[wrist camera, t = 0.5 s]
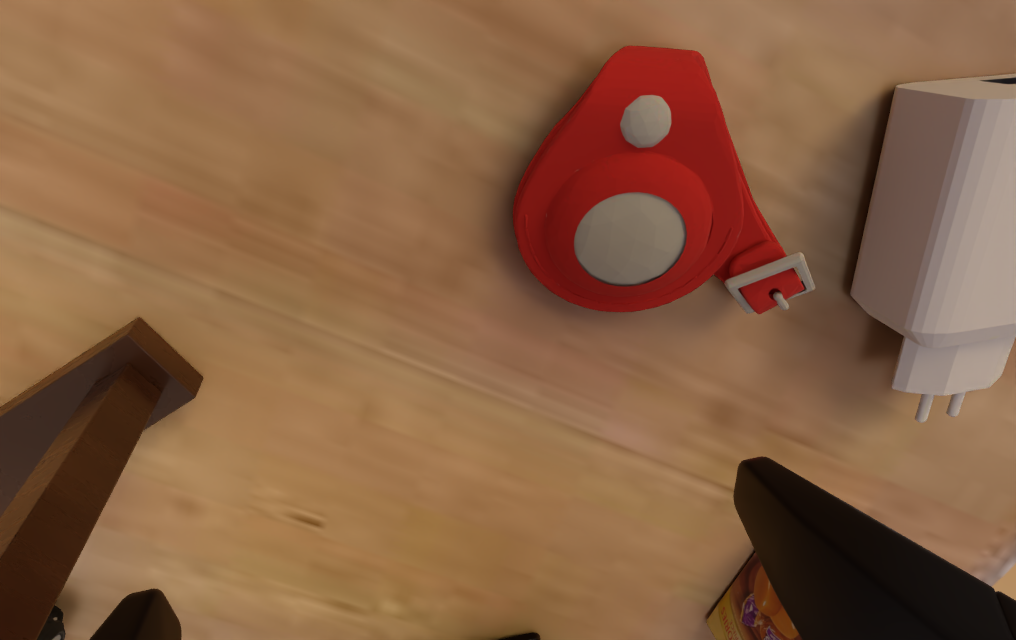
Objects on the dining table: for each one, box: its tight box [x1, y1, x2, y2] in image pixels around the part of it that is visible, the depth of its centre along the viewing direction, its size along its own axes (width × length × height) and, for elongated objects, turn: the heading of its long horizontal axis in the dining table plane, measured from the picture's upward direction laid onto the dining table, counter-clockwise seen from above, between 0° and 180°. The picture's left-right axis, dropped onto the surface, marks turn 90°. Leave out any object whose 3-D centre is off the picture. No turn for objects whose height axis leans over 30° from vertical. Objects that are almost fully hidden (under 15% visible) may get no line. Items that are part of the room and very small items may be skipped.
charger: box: [850, 74, 1016, 422], centre depth 27 cm, size 5×9×15 cm
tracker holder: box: [513, 46, 815, 314], centre depth 23 cm, size 12×4×10 cm
